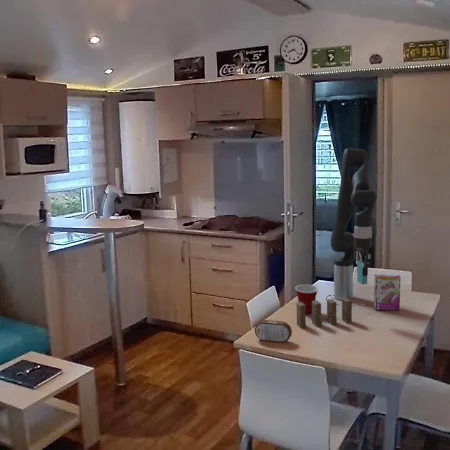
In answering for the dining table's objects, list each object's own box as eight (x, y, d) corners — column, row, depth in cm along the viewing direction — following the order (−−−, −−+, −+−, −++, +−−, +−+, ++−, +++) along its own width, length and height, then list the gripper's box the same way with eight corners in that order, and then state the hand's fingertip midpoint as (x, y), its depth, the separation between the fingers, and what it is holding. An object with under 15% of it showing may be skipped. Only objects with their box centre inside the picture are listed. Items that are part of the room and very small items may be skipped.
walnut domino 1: (300, 328, 242) (300, 305, 240) (296, 324, 247) (296, 302, 245) (305, 327, 242) (305, 305, 241) (302, 323, 247) (301, 301, 246)
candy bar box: (375, 310, 262) (375, 276, 259) (373, 307, 266) (374, 273, 264) (400, 310, 260) (400, 276, 258) (398, 307, 265) (398, 273, 263)
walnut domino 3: (331, 325, 244) (331, 302, 243) (327, 321, 249) (326, 299, 248) (336, 324, 245) (336, 302, 243) (332, 320, 250) (332, 299, 248)
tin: (292, 341, 227) (291, 321, 226) (290, 344, 224) (290, 323, 223) (256, 338, 232) (255, 318, 231) (254, 340, 229) (253, 321, 228)
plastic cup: (303, 317, 256) (303, 291, 254) (291, 311, 265) (290, 286, 263) (323, 313, 260) (323, 288, 258) (310, 307, 270) (310, 283, 268)
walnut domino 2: (315, 326, 243) (315, 304, 242) (312, 322, 248) (311, 300, 246) (321, 326, 244) (321, 303, 242) (317, 322, 249) (317, 300, 247)
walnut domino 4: (346, 323, 246) (346, 301, 244) (342, 319, 251) (342, 298, 249) (351, 323, 246) (351, 300, 245) (347, 319, 251) (347, 297, 249)
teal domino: (362, 284, 244) (362, 262, 243) (357, 281, 249) (357, 259, 247) (367, 284, 245) (367, 261, 243) (362, 281, 250) (362, 259, 248)
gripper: (378, 238, 237) (377, 277, 240) (363, 232, 251) (363, 269, 254) (361, 239, 236) (361, 279, 239) (348, 233, 250) (347, 270, 253)
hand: (362, 274), depth 246 cm, fingers closed on teal domino, 5 cm apart
